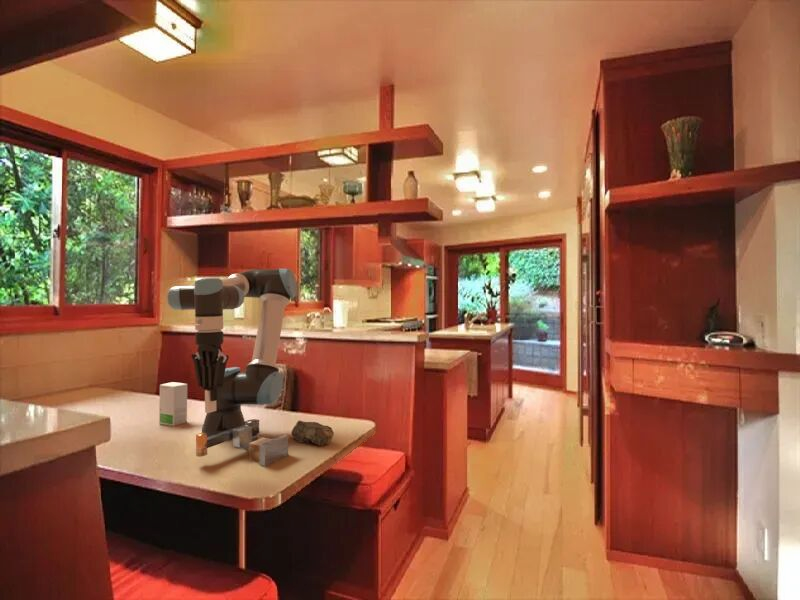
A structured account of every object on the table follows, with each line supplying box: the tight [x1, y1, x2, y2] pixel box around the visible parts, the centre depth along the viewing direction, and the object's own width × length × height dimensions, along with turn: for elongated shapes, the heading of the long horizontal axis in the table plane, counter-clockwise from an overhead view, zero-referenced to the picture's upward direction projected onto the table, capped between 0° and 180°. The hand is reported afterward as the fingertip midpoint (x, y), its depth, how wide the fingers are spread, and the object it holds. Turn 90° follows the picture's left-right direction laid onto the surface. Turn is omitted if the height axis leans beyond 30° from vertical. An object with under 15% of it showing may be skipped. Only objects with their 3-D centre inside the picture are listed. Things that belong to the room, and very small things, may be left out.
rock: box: [290, 420, 335, 447], centre depth 147 cm, size 17×7×10 cm
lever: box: [195, 418, 260, 458], centre depth 135 cm, size 7×23×6 cm, turn 151°
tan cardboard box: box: [248, 437, 273, 463], centre depth 133 cm, size 5×6×5 cm
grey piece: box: [234, 433, 289, 467], centre depth 138 cm, size 21×16×6 cm
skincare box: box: [158, 381, 188, 427], centre depth 171 cm, size 8×7×16 cm
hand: (210, 411), depth 126 cm, fingers closed
